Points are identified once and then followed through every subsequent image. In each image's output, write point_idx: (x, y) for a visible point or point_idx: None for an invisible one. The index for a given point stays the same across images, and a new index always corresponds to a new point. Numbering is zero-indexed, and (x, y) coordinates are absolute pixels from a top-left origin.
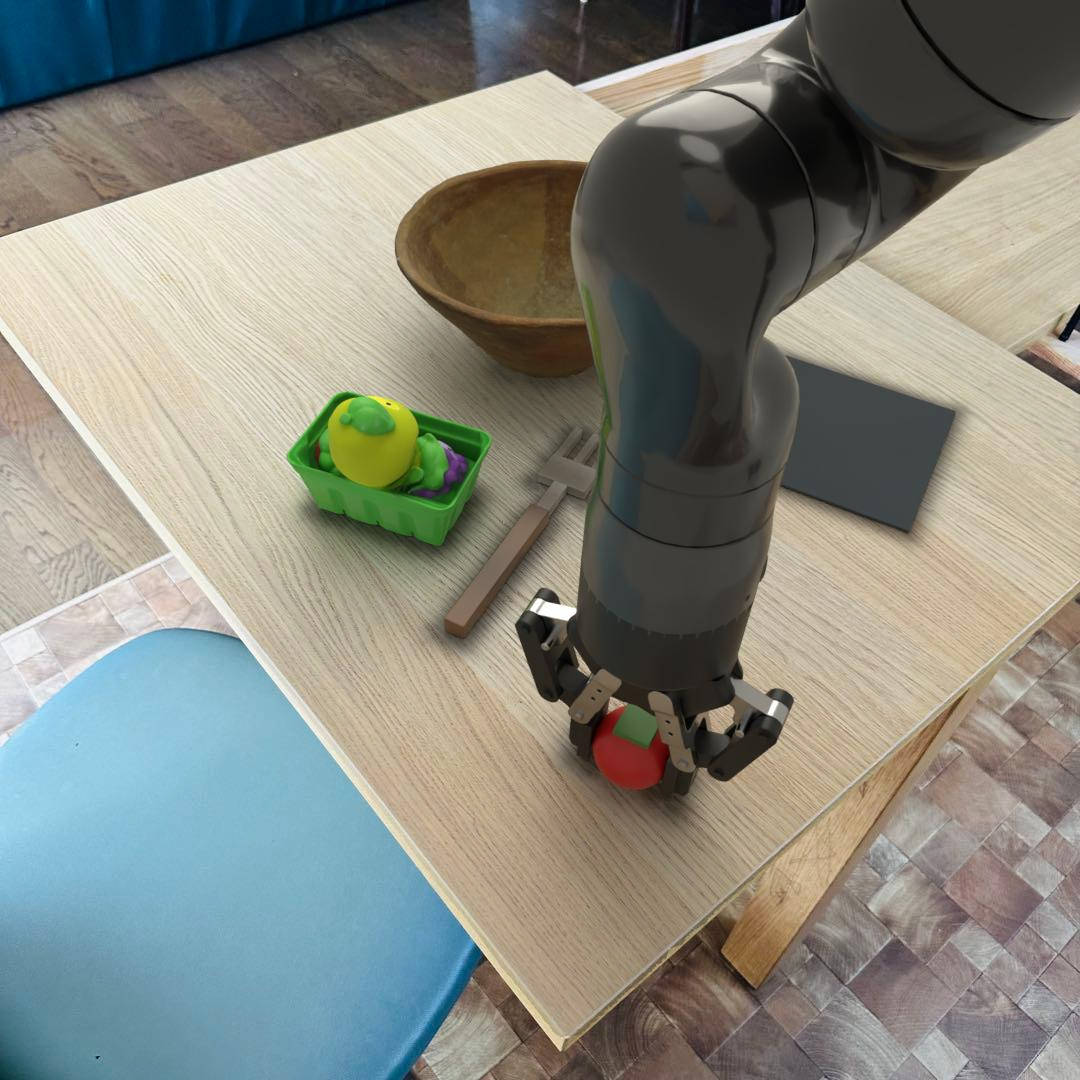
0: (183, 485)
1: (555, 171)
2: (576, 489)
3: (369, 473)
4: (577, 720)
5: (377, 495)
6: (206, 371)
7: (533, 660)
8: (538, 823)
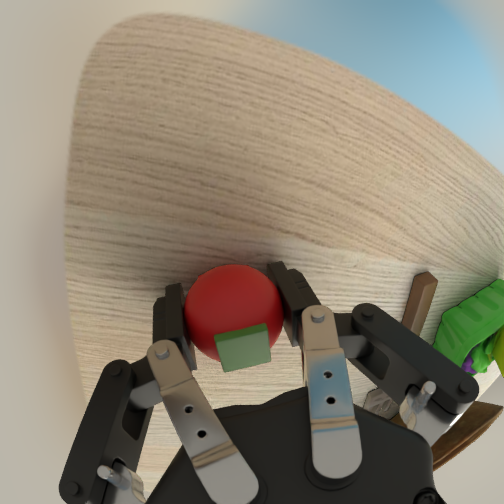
0: None
1: (436, 465)
2: (377, 395)
3: None
4: (315, 309)
5: (501, 318)
6: None
7: (421, 349)
8: (273, 170)
